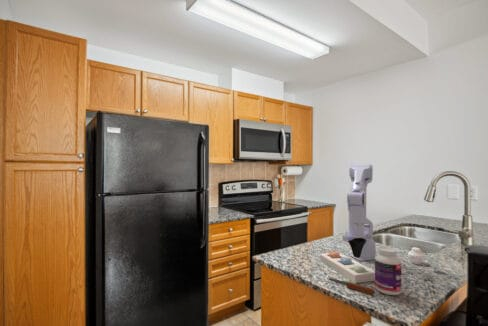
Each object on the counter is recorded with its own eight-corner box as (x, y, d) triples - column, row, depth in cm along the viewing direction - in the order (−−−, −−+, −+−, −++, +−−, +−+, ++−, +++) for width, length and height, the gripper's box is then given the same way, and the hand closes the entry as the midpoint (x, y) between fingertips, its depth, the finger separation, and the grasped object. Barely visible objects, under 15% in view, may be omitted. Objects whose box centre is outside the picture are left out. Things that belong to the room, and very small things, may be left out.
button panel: (338, 258, 120) (338, 252, 120) (377, 280, 97) (377, 272, 97) (319, 260, 118) (319, 254, 118) (355, 283, 95) (355, 275, 95)
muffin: (406, 262, 115) (406, 247, 115) (409, 259, 119) (409, 244, 119) (423, 266, 110) (422, 250, 110) (425, 263, 115) (425, 247, 115)
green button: (359, 271, 103) (359, 265, 103) (367, 275, 98) (367, 269, 98) (350, 272, 101) (350, 266, 101) (358, 277, 97) (358, 270, 97)
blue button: (347, 262, 110) (347, 256, 110) (353, 266, 106) (353, 260, 106) (338, 263, 109) (338, 257, 109) (344, 267, 105) (344, 261, 105)
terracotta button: (335, 256, 118) (335, 250, 118) (341, 259, 114) (341, 254, 114) (327, 257, 117) (327, 251, 117) (333, 260, 113) (333, 254, 113)
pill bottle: (401, 299, 83) (401, 254, 83) (373, 292, 87) (373, 250, 88) (401, 289, 90) (401, 247, 90) (376, 283, 94) (375, 244, 95)
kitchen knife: (374, 294, 86) (374, 288, 86) (373, 296, 85) (373, 290, 85) (329, 281, 97) (329, 275, 97) (327, 282, 96) (327, 277, 96)
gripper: (358, 218, 109) (359, 250, 108) (335, 222, 101) (336, 257, 101) (374, 221, 103) (374, 255, 102) (351, 226, 95) (351, 263, 95)
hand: (356, 256), depth 101 cm, fingers closed
